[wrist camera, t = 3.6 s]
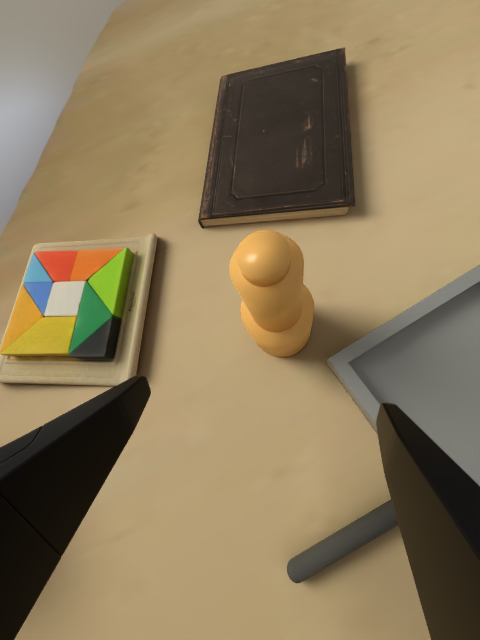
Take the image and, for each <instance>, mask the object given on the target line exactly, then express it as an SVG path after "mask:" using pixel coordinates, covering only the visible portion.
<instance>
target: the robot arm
mask: <svg viewBox="0 0 480 640" xmlns="http://www.w3.org/2000/svg"><path fill="white" fill-rule="evenodd" d="M150 394H151V390H150V387H149V384H148V381H147V378H146V377H145V376H140V375H136V376H133V377H132V378H130V379H128V380H126V381H124V382H122V383H120V384H119V385H117V386H115V387H113V388H111V389H109V390H107V391H106V392H104V393H102V394H100V395H98V396H96V397H94V398H93V399H91V400H89V401H87V402H85V403H83V404H81V405H80V406H78V407H76V408H74V409H72V410H70V411H68V412H67V413H65V414H63V415H61V416H59V417H57V418H56V419H54V420H52V421H50V422H48V423H46V424H44V425H43V426H41V427H39V428H37V429H35V430H33V431H31V432H30V433H28V434H26V435H24V436H22V437H20V438H18V439H16V440H14V441H12V442H10V443H8V444H6V445H4V446H2V447H0V640H14V639H15V637H16V635H17V634H18V632H19V630H20V628H21V627H22V625H23V623H24V621H25V620H26V618H27V616H28V615H29V613H30V611H31V609H32V608H33V606H34V604H35V602H36V601H37V599H38V597H39V595H40V594H41V592H42V590H43V588H44V587H45V585H46V583H47V581H48V580H49V578H50V576H51V574H52V573H53V571H54V569H55V568H56V566H57V564H58V562H59V561H60V559H61V556H62V555H63V553H64V552H65V550H66V548H67V546H68V545H69V543H70V541H71V539H72V538H73V536H74V534H75V532H76V531H77V529H78V527H79V526H80V524H81V522H82V520H83V519H84V517H85V515H86V513H87V512H88V510H89V508H90V506H91V505H92V503H93V501H94V499H95V498H96V496H97V494H98V492H99V491H100V489H101V487H102V486H103V484H104V482H105V480H106V479H107V477H108V475H109V473H110V472H111V470H112V468H113V466H114V465H115V463H116V461H117V459H118V458H119V456H120V454H121V452H122V451H123V449H124V447H125V446H126V444H127V442H128V440H129V439H130V437H131V435H132V433H133V431H134V430H135V428H136V425H137V423H138V421H139V419H140V417H141V415H142V412H143V410H144V408H145V406H146V404H147V402H148V399H149V397H150ZM376 427H377V433H378V439H379V445H380V451H381V457H382V463H383V468H384V474H385V477H386V481H387V485H388V488H389V492H390V496H391V499H392V503H393V506H394V510H395V513H396V517H397V520H398V524H399V527H400V531H401V534H402V538H403V541H404V545H405V549H406V552H407V556H408V559H409V563H410V566H411V570H412V573H413V577H414V580H415V584H416V587H417V591H418V595H419V598H420V602H421V605H422V609H423V612H424V616H425V619H426V623H427V626H428V630H429V633H430V637H431V640H480V486H479V485H478V484H477V483H476V482H475V481H474V480H473V479H472V478H471V477H470V476H469V475H468V474H467V473H466V472H465V471H464V470H463V469H462V468H461V467H460V466H459V465H458V464H457V463H456V462H455V461H454V460H453V459H452V458H451V457H450V456H449V455H447V454H446V453H445V452H444V451H443V450H442V449H441V448H440V447H439V446H438V445H437V444H436V443H435V442H434V441H433V440H432V439H431V438H430V437H429V436H428V435H427V434H426V433H425V432H424V431H423V430H422V429H421V428H420V427H419V426H418V425H417V424H416V423H415V422H414V421H413V420H412V419H410V418H409V417H408V416H407V415H406V414H405V413H404V412H403V411H402V410H401V409H400V408H399V407H398V406H397V405H396V404H392V403H381V404H380V407H379V411H378V415H377V419H376Z"/></svg>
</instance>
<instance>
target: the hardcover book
mask: <svg viewBox="0 0 480 640" xmlns="http://www.w3.org/2000/svg"><path fill="white" fill-rule="evenodd" d="M353 206H355V197H354V181H353V166H352V150H351V134H350V119H349V103H348V88H347V72H346V57H345V48H340V49H336V50H331V51H327V52H323V53H319V54H314V55H310V56H306V57H301V58H297V59H293V60H289V61H284V62H280V63H276V64H271V65H267V66H263V67H259V68H254V69H250V70H246V71H241V72H237V73H233V74H229V75H224V76H222V77H221V79H220V85H219V91H218V98H217V104H216V110H215V117H214V123H213V130H212V136H211V143H210V149H209V155H208V162H207V168H206V175H205V181H204V188H203V194H202V200H201V207H200V213H199V220H198V222H199V224H200V226H201V227H202V228H204V226H213V225H225V224H237V223H250V222H262V221H275V220H287V219H299V218H312V217H324V216H337V215H347V213H348V210H349V207H353Z"/></svg>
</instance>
